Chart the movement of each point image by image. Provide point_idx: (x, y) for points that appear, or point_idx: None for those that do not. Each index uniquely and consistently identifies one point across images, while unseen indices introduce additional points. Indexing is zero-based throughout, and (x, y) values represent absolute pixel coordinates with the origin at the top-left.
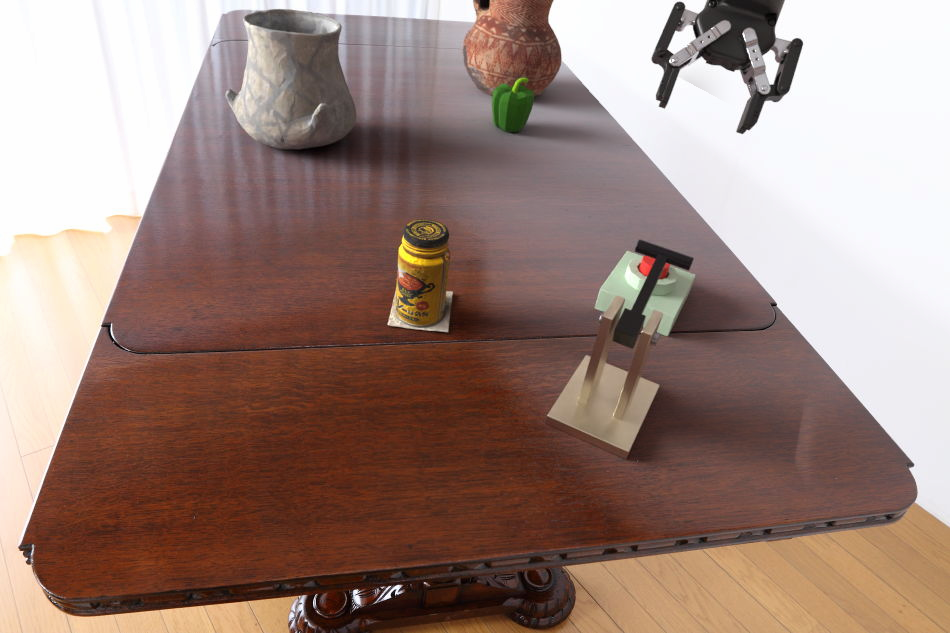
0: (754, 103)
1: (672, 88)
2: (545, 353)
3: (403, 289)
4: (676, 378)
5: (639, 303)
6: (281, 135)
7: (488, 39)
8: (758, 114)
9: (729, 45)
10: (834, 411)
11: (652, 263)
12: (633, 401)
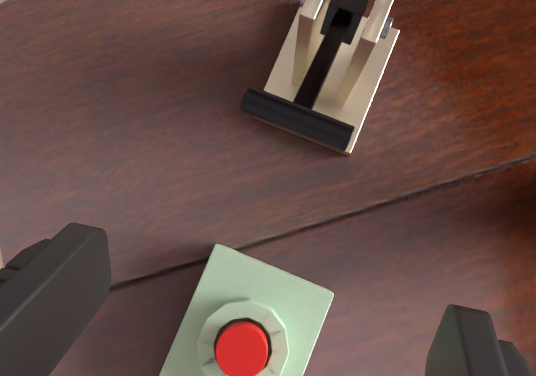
0: (7, 294)
1: (469, 351)
2: (400, 163)
3: None
4: (222, 152)
5: (337, 32)
6: None
7: None
8: (2, 273)
9: None
10: (16, 135)
11: (250, 341)
12: (291, 75)
